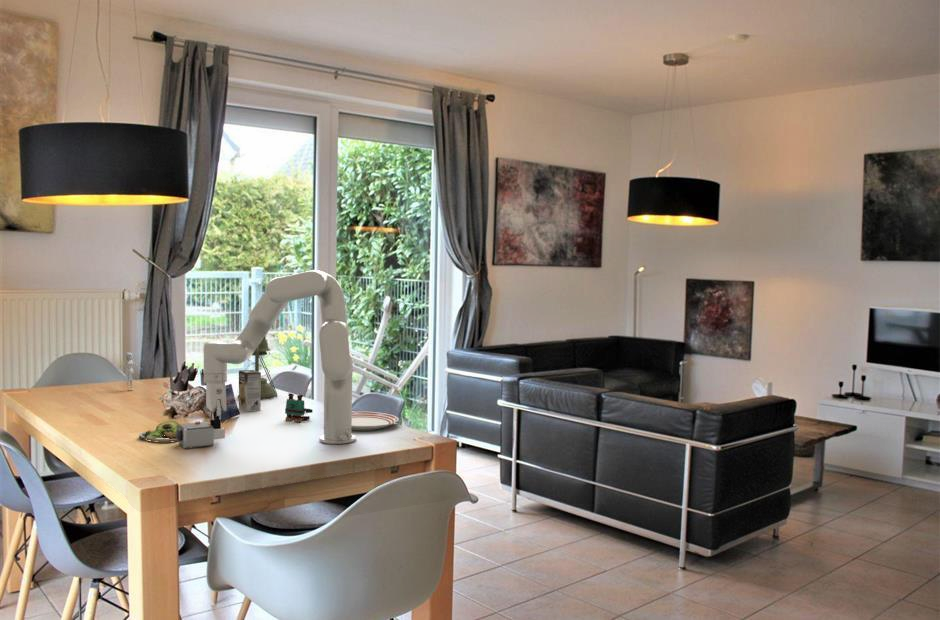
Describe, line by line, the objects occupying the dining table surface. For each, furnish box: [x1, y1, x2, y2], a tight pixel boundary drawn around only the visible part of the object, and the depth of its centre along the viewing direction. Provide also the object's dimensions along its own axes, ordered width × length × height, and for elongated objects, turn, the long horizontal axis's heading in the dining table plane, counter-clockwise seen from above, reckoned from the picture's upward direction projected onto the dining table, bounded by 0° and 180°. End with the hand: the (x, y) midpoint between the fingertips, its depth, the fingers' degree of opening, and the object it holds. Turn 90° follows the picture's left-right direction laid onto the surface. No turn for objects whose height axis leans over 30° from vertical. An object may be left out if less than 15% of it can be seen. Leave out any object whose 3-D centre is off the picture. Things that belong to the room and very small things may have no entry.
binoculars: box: [284, 392, 314, 423], centre depth 301 cm, size 9×11×10 cm
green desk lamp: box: [237, 331, 278, 401], centre depth 351 cm, size 21×18×30 cm
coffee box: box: [238, 369, 262, 412], centre depth 320 cm, size 9×6×16 cm
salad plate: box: [138, 420, 180, 443], centre depth 266 cm, size 19×18×5 cm
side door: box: [183, 427, 226, 449], centre depth 253 cm, size 1×13×6 cm, turn 121°
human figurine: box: [115, 352, 143, 389], centre depth 362 cm, size 12×4×18 cm, turn 134°
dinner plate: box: [352, 411, 400, 431], centre depth 292 cm, size 27×27×3 cm
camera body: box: [176, 421, 214, 449], centre depth 256 cm, size 9×10×7 cm
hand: (215, 431), depth 261 cm, fingers closed
